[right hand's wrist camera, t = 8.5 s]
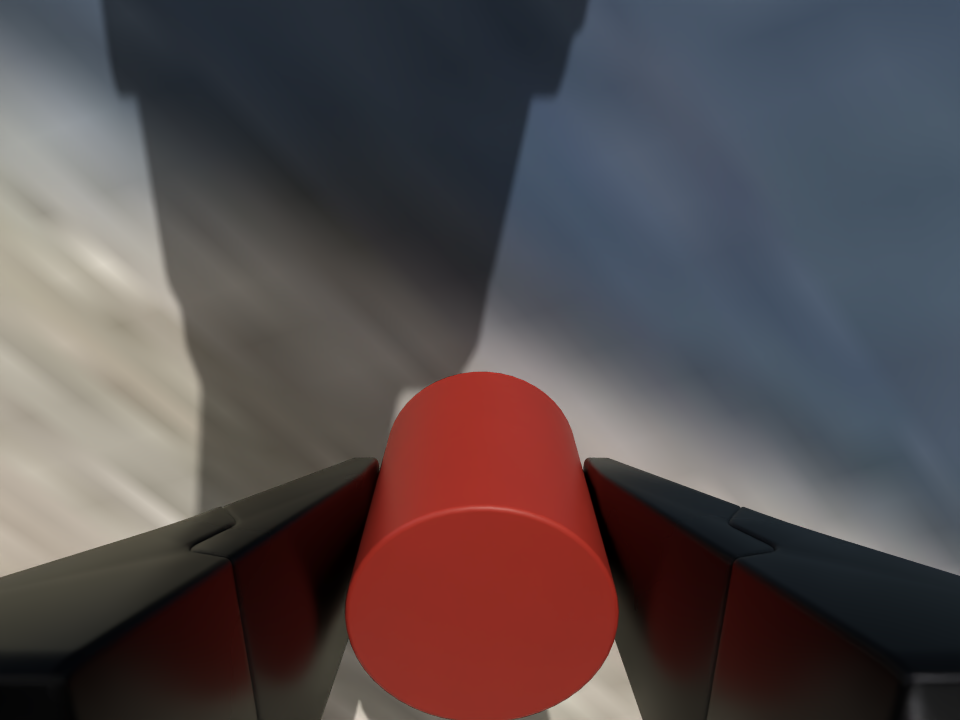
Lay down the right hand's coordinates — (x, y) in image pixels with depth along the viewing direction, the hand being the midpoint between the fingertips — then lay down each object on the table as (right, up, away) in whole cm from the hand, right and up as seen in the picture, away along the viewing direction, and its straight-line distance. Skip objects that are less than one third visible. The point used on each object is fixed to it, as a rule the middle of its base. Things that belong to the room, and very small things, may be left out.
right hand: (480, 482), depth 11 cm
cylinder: (0, 0, +1) cm, 1 cm away
